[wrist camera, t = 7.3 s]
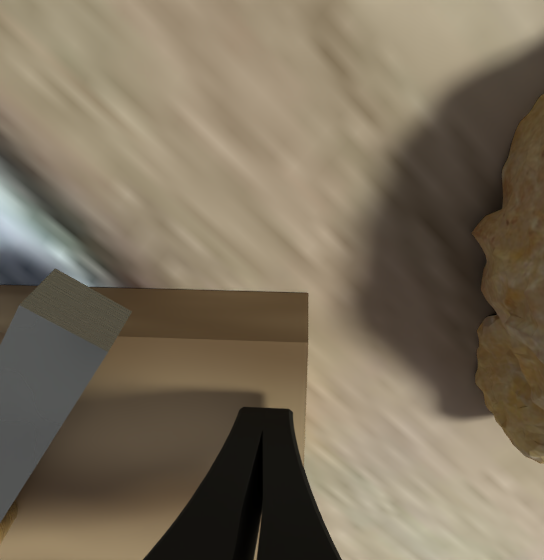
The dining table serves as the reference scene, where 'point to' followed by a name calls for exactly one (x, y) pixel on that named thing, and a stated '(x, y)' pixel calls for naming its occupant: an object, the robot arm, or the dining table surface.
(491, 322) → the stone tool
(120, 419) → the door mockup
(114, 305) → the bar
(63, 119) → the dining table surface
